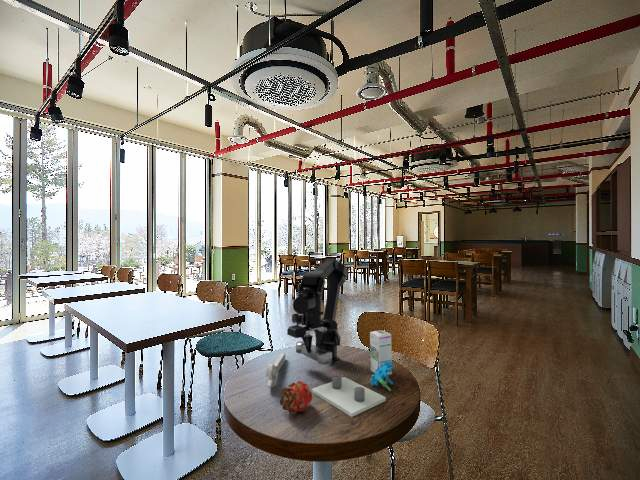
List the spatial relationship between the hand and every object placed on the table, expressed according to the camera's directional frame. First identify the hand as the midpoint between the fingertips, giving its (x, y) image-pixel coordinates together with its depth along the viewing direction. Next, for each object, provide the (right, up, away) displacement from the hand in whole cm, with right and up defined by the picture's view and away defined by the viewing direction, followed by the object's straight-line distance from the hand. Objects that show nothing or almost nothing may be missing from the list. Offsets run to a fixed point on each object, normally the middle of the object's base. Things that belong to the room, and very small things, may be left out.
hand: (313, 351), depth 114 cm
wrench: (-13, -8, -1) cm, 15 cm away
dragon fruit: (-4, -8, -24) cm, 26 cm away
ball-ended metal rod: (0, -2, 0) cm, 2 cm away
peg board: (+11, -8, -17) cm, 21 cm away
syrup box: (+24, -8, +1) cm, 26 cm away
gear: (+23, -8, -9) cm, 26 cm away
